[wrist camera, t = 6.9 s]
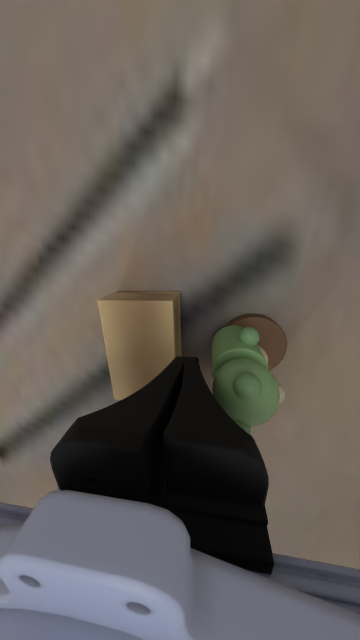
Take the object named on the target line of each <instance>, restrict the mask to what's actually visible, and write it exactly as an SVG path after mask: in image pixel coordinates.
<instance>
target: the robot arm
mask: <svg viewBox="0 0 360 640" xmlns="http://www.w3.org/2000/svg"><path fill="white" fill-rule="evenodd" d="M50 462H51V467H52V470H53V473H54V476H55V478H56V481H57V484H58V487H59V488H58V490H57V491H52V492H49V493H48V494H47V495H45V496H44V497H43V498H41V499H40V500H39V502H38V503H37V505H36V506H35V508H34V509H33V508H28V507H22V506H17V505H12V504H6V503H1V502H0V640H360V569H354V568H349V567H344V566H338V565H333V564H328V563H322V562H317V561H311V560H306V559H301V558H295V557H290V556H285V555H279V554H274V553H272V549H271V545H270V540H269V535H268V530H267V524H268V519H267V514H266V509H265V501H266V496H267V491H268V485H269V482H268V474H267V470H266V467H265V464H264V461H263V459H262V456H261V454H260V452H259V449H258V447H257V445H256V443H255V441H254V439H253V437H252V436H251V435H250V434H248V433H247V432H246V431H245V430H244V429H243V428H241V427H240V426H239V425H238V424H237V423H236V422H235V421H234V420H233V419H232V418H231V417H230V416H229V415H228V414H227V413H226V411H225V410H224V409H223V408H222V407H221V406H220V404H219V403H218V401H217V400H216V399H215V397H214V396H213V394H212V393H211V391H210V389H209V388H208V386H207V384H206V382H205V380H204V378H203V375H202V373H201V370H200V367H199V359H198V358H197V357H181V356H176V357H175V358H174V359H173V360H172V361H171V363H170V364H169V365H168V366H167V367H166V368H165V369H164V370H163V371H162V372H161V373H160V374H159V375H157V376H156V377H155V378H154V379H153V380H152V381H150V382H149V383H148V384H147V385H145V386H144V387H142V388H141V389H139V390H138V391H136V392H135V393H133V394H131V395H130V396H128V397H126V398H124V399H123V400H121V401H119V402H117V403H115V404H113V405H110V406H108V407H106V408H104V409H101V410H99V411H96V412H93V413H91V414H88V415H85V416H82V417H79V418H78V419H77V420H76V421H75V422H74V423H73V425H72V426H71V427H70V428H69V430H68V431H67V432H66V433H65V435H64V436H63V437H62V439H61V440H60V441H59V442H58V444H57V445H56V446H55V448H54V449H53V450H52V452H51V456H50Z"/></svg>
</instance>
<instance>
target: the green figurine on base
mask: <svg viewBox="0 0 360 640" xmlns="http://www.w3.org/2000/svg"><path fill="white" fill-rule="evenodd" d="M286 348H287V341H286V336H285V334H284V332H283V330H282V329H281V328H280V327H279V326H278V324H277V323H276V322H274V321H273V320H272V319H270V318H268V317H266V316H263V315H259V314H247V315H242V316H239V317H237V318H235V319H233V320H232V321H230V322H229V323H228V324H227V325H226V326H225V327H224V328H222V329H220V330H219V331H218V332H217V333H216V334H215V336H214V337H213V340H212V375H213V378H214V380H213V387H212V391H213V396H214V397H215V399H216V400H217V401H218V403H219V404H220V406H221V407H222V408H223V409H224V410H225V411H226V413H227V414H228V415H229V416H230V417H231V418H232V419H233V420H234V421H235V422H236V423H237V424H238V425H239V426H240V427H241V428H243V429H244V430H245V431H246V432H247V433H248V434H250V430H251V427H250V426H257V425H260V424H263V423H265V422H266V421H268V420H269V419H270V418H271V417H272V416H273V415H274V413H275V412H276V410H277V408H278V405H279V404H281V403H282V402H283V401H284V399H285V391H284V389H283V388H282V386H281V385H279V384H278V383H277V382H276V379H275V378H274V376H273V374H272V373H271V372H270V371H269V370H271V369H272V368H274V367H275V366H277V365H278V364H279V363H280V361H281V360H282V359H283V357H284V355H285V352H286Z"/></svg>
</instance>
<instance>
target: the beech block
mask: <svg viewBox="0 0 360 640" xmlns="http://www.w3.org/2000/svg"><path fill="white" fill-rule="evenodd" d="M97 302H98V307H99V313H100V319H101V325H102V331H103V337H104V342H105V348H106V354H107V360H108V366H109V372H110V377H111V383H112V389H113V395H114V399H117V400H123V399H124V398H126V397H128V396H130V395H131V394H133V393H135V392H136V391H138V390H139V389H141V388H142V387H144V386H145V385H147V384H148V383H149V382H150V381H152V380H153V379H154V378H155V377H156V376H157V375H159V374H160V373H161V372H162V371H163V370H164V369H165V368H166V367H167V366H168V365H169V364H170V363H171V361H172V360H173V359H174V358H175V357H176V356H181V357H182V354H181V314H180V291H117V292H115V293H112V294H110V295H108V296H106V297H103V298H101V299H99V300H97Z"/></svg>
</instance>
